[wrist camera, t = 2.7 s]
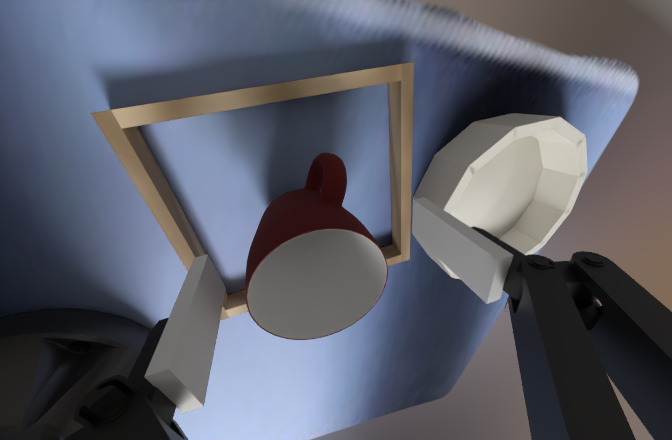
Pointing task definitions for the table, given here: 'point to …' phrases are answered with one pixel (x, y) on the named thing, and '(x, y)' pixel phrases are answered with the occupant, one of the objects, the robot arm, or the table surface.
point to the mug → (313, 260)
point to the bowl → (509, 178)
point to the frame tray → (146, 171)
